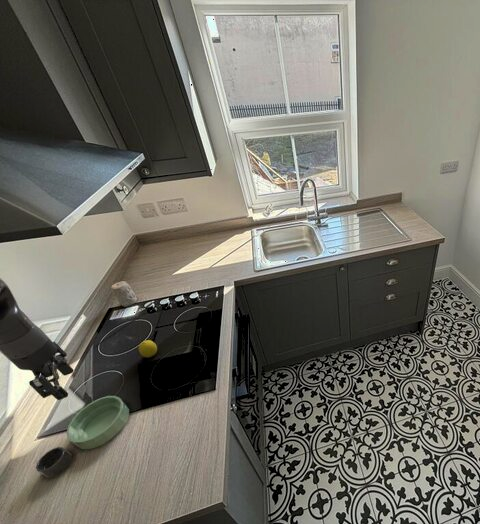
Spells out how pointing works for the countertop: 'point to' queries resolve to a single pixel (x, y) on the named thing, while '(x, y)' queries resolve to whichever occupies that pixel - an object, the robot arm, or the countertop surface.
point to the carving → (124, 293)
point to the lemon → (147, 348)
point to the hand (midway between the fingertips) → (66, 384)
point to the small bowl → (50, 458)
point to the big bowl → (98, 422)
